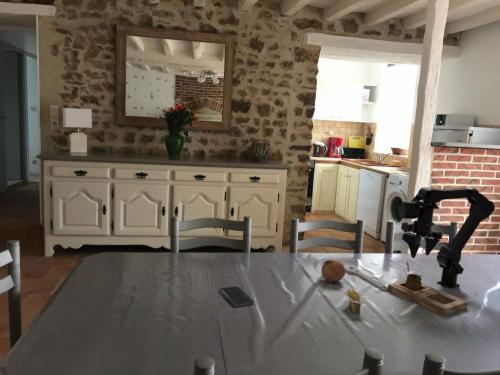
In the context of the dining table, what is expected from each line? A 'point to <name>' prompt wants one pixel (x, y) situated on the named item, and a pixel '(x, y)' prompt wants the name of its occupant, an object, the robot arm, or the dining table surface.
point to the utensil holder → (413, 281)
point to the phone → (236, 296)
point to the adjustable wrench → (365, 277)
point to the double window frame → (429, 298)
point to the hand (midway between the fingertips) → (420, 256)
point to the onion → (333, 270)
